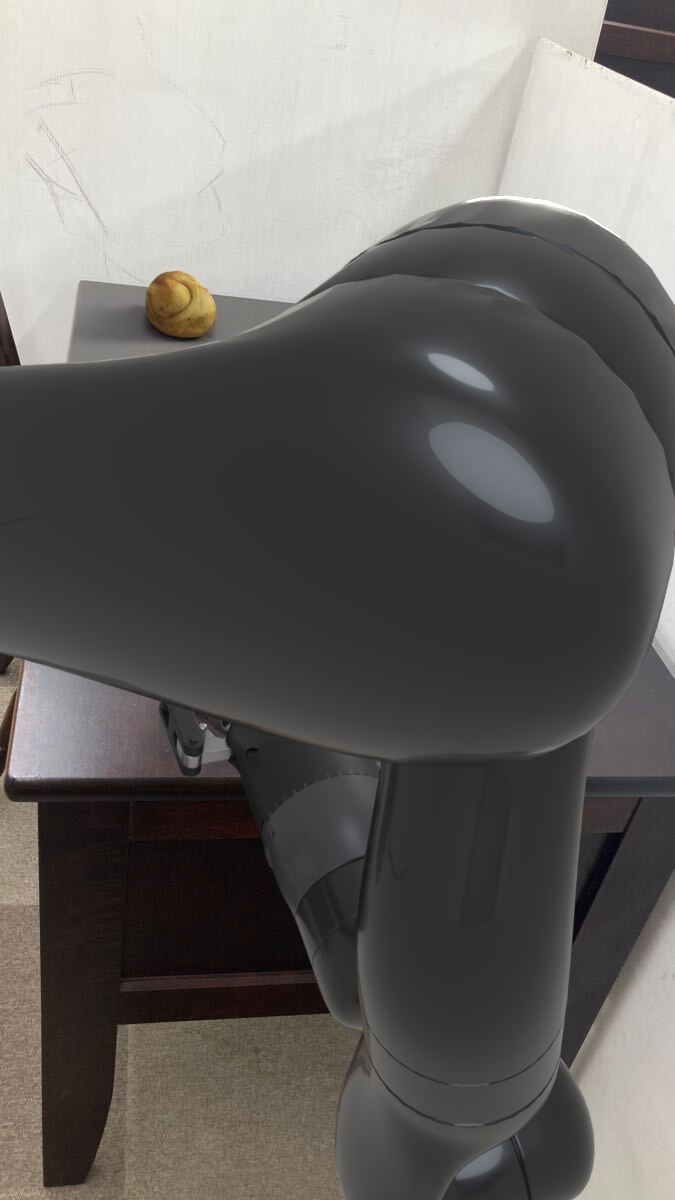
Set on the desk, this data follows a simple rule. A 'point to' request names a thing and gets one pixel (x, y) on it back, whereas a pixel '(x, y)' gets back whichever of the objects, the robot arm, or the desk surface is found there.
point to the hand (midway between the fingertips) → (250, 634)
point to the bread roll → (180, 305)
